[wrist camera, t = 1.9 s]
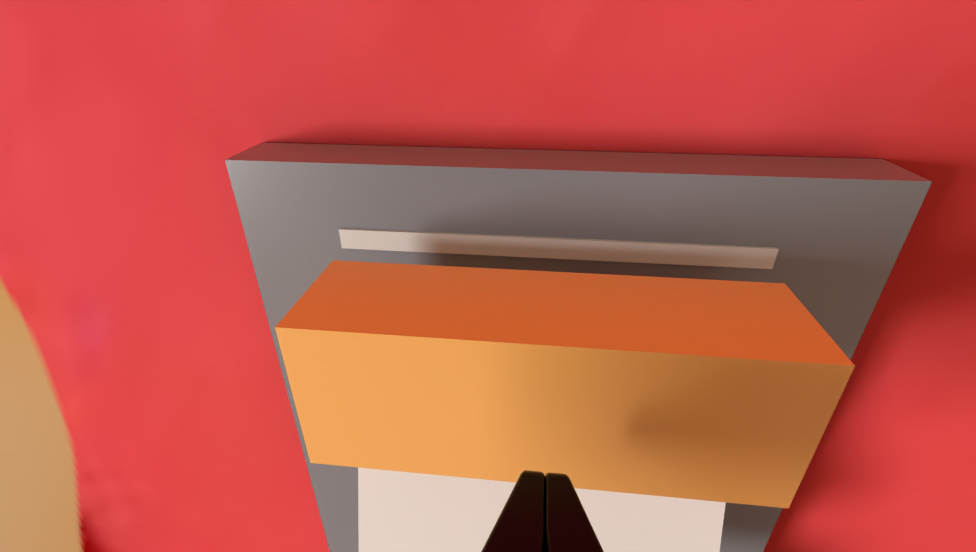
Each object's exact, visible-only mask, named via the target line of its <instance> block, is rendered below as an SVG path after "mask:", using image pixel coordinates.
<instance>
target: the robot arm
mask: <svg viewBox="0 0 976 552" xmlns="http://www.w3.org/2000/svg"><path fill="white" fill-rule="evenodd" d="M481 552H604V551H603V549H602V547H601V545H600V542H599V540H598V538H597V536H596V534H595V532H594V529H593V527H592V525H591V523H590V521H589V519H588V517H587V514H586V512H585V510H584V508H583V506H582V504H581V501H580V499H579V497H578V495H577V493H576V491H575V489H574V486H573V484H572V482H571V480H570V478H569V477H568V476H567V475H566V474H561V473H550V472H549V473H547V474H546V475H544V473H543V472H539V471H529V470H525V471H523V472H522V473H521V474H520V476H519V478H518V480H517V482H516V484H515V486H514V488H513V490H512V492H511V494H510V496H509V498H508V500H507V502H506V504H505V506H504V508H503V510H502V512H501V514H500V516H499V518H498V520H497V522H496V524H495V526H494V527H493V529H492V531H491V533H490V535H489V537H488V539H487V541H486V543H485V545H484V547H483V549H482V551H481Z"/></svg>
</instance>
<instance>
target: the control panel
mask: <svg viewBox="0 0 976 552" xmlns="http://www.w3.org/2000/svg"><path fill="white" fill-rule="evenodd" d="M225 162H226V166H227V169H228V173H229V177H230V181H231V184H232V188H233V192H234V195H235V199H236V203H237V207H238V210H239V214H240V218H241V222H242V225H243V229H244V233H245V236H246V240H247V244H248V248H249V251H250V255H251V259H252V263H253V266H254V270H255V274H256V277H257V281H258V285H259V289H260V292H261V296H262V300H263V304H264V307H265V311H266V315H267V318H268V322H269V326H270V330H271V333H272V337H273V341H274V345H275V348H276V352H277V356H278V359H279V363H280V367H281V371H282V374H283V378H284V382H285V386H286V389H287V393H288V397H289V400H290V404H291V408H292V412H293V415H294V419H295V423H296V427H297V430H298V434H299V438H300V441H301V445H302V449H303V453H304V456H305V460H306V464H307V468H308V471H309V475H310V479H311V482H312V486H313V490H314V494H315V497H316V501H317V505H318V509H319V512H320V516H321V520H322V523H323V527H324V531H325V535H326V538H327V542H328V546H329V550H330V552H359V533H358V467H348V466H337V465H327V464H316V463H310V459H309V456H308V452H307V448H306V444H305V440H304V436H303V433H302V429H301V425H300V421H299V417H298V414H297V410H296V406H295V402H294V398H293V394H292V391H291V387H290V383H289V379H288V375H287V372H286V368H285V364H284V360H283V356H282V353H281V349H280V345H279V341H278V337H277V333H276V330H275V327H276V325H277V324H278V323H279V322H280V321H281V320H282V319H283V317H284V316H285V315H286V314H287V313H288V312H289V310H290V309H291V308H292V307H293V306H294V305H295V303H296V302H297V301H298V300H299V299H300V298H301V297H302V295H303V294H304V293H305V292H306V291H307V290H308V288H309V287H310V286H311V285H312V284H313V283H314V281H315V280H316V279H317V278H318V277H319V276H320V274H321V273H322V272H323V271H324V270H325V269H326V268H327V266H328V265H329V264H330V263H331V262H332V261H333V260H338V261H357V262H377V263H397V264H416V265H436V266H455V267H475V268H494V269H514V270H533V271H553V272H572V273H592V274H611V275H631V276H650V277H670V278H689V279H709V280H728V281H748V282H767V283H785V284H786V285H787V287H788V288H789V289H790V290H791V291H792V292H793V294H794V295H795V296H796V297H797V298H798V299H799V301H800V302H801V303H802V304H803V305H804V306H805V308H806V309H807V310H808V311H809V312H810V314H811V315H812V316H813V317H814V318H815V319H816V321H817V322H818V323H819V324H820V325H821V326H822V328H823V329H824V330H825V331H826V332H827V334H828V335H829V336H830V337H831V338H832V339H833V341H834V342H835V343H836V344H837V345H838V346H839V348H840V349H841V350H842V351H843V352H844V354H845V355H846V356H847V357H848V358H849V359H850V360H851V358H852V356H853V354H854V352H855V349H856V347H857V345H858V343H859V341H860V338H861V336H862V334H863V332H864V330H865V327H866V325H867V323H868V321H869V319H870V317H871V314H872V312H873V310H874V308H875V306H876V303H877V301H878V299H879V297H880V295H881V292H882V290H883V288H884V286H885V284H886V282H887V279H888V277H889V275H890V273H891V271H892V268H893V266H894V264H895V262H896V260H897V257H898V255H899V253H900V251H901V249H902V247H903V244H904V242H905V240H906V238H907V236H908V233H909V231H910V229H911V227H912V225H913V222H914V220H915V218H916V216H917V214H918V212H919V209H920V207H921V205H922V203H923V201H924V198H925V196H926V194H927V192H928V190H929V187H930V185H931V183H932V181H930V180H928V179H926V178H923V177H921V176H919V175H917V174H915V173H912V172H910V171H908V170H906V169H904V168H901V167H899V166H897V165H895V164H893V163H890V162H888V161H886V160H884V159H870V158H832V157H794V156H756V155H719V154H681V153H643V152H605V151H568V150H530V149H492V148H455V147H417V146H379V145H341V144H304V143H266V142H262V143H260V144H258V145H256V146H254V147H252V148H249V149H247V150H245V151H243V152H241V153H239V154H237V155H234V156H232V157H230V158H228V159H226V160H225ZM782 509H783V508H779V507H769V506H758V505H748V504H737V503H727V502H726V504H725V512H724V520H723V528H722V536H721V544H720V552H763V551H764V548H765V546H766V544H767V542H768V540H769V537H770V535H771V533H772V531H773V529H774V527H775V524H776V522H777V520H778V518H779V516H780V513H781V511H782Z"/></svg>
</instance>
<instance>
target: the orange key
mask: <svg viewBox="0 0 976 552" xmlns="http://www.w3.org/2000/svg"><path fill="white" fill-rule="evenodd" d="M275 330H276V333H277V337H278V341H279V345H280V349H281V353H282V356H283V360H284V364H285V368H286V372H287V375H288V379H289V383H290V387H291V391H292V394H293V398H294V402H295V406H296V410H297V414H298V417H299V421H300V425H301V429H302V433H303V436H304V440H305V444H306V448H307V452H308V456H309V459H310V463H316V464H327V465H337V466H348V467H358V468H369V469H379V470H390V471H400V472H411V473H421V474H432V475H442V476H453V477H463V478H474V479H484V480H495V481H506V482H517V480H518V478H519V476H520V474H521V473H522V472H523V471H525V470H529V471H539V472H543V473H544V475H546V474H547V473H549V472H550V473H561V474H566V475H567V476H568V477H569V478H570V480H571V482H572V484H573V486H574V488H579V489H590V490H600V491H611V492H621V493H632V494H642V495H653V496H663V497H674V498H684V499H695V500H705V501H716V502H727V503H737V504H748V505H758V506H769V507H779V508H789V506H790V504H791V502H792V500H793V498H794V496H795V494H796V491H797V489H798V487H799V485H800V483H801V481H802V479H803V476H804V474H805V472H806V470H807V468H808V466H809V464H810V461H811V459H812V457H813V455H814V453H815V451H816V449H817V446H818V444H819V442H820V440H821V438H822V436H823V434H824V431H825V429H826V427H827V425H828V423H829V421H830V419H831V416H832V414H833V412H834V410H835V408H836V406H837V403H838V401H839V399H840V397H841V395H842V393H843V391H844V388H845V386H846V384H847V382H848V380H849V378H850V376H851V373H852V371H853V369H854V367H855V365H854V364H853V363H852V362H851V361H850V359H849V358H848V357H847V356H846V355H845V354H844V352H843V351H842V350H841V349H840V348H839V346H838V345H837V344H836V343H835V342H834V341H833V339H832V338H831V337H830V336H829V335H828V334H827V332H826V331H825V330H824V329H823V328H822V326H821V325H820V324H819V323H818V322H817V321H816V319H815V318H814V317H813V316H812V315H811V314H810V312H809V311H808V310H807V309H806V308H805V306H804V305H803V304H802V303H801V302H800V301H799V299H798V298H797V297H796V296H795V295H794V294H793V292H792V291H791V290H790V289H789V288H788V287H787V285H786V284H785V283H767V282H748V281H728V280H709V279H689V278H670V277H650V276H631V275H611V274H592V273H572V272H553V271H533V270H514V269H494V268H475V267H455V266H436V265H416V264H397V263H377V262H357V261H338V260H333V261H332V262H331V263H330V264H329V265H328V266H327V268H326V269H325V270H324V271H323V272H322V273H321V274H320V276H319V277H318V278H317V279H316V280H315V281H314V283H313V284H312V285H311V286H310V287H309V288H308V290H307V291H306V292H305V293H304V294H303V295H302V297H301V298H300V299H299V300H298V301H297V302H296V303H295V305H294V306H293V307H292V308H291V309H290V310H289V312H288V313H287V314H286V315H285V316H284V317H283V319H282V320H281V321H280V322H279V323H278V324H277V325H276V327H275Z"/></svg>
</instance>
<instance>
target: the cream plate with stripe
mask: <svg viewBox="0 0 976 552" xmlns="http://www.w3.org/2000/svg"><path fill="white" fill-rule="evenodd" d="M515 484H516V482H506V481H495V480H484V479H474V478H463V477H453V476H442V475H432V474H421V473H411V472H400V471H390V470H379V469H369V468H358V533H359V552H481V551H482V549H483V547H484V545H485V543H486V541H487V539H488V537H489V535H490V533H491V531H492V529H493V527H494V526H495V524H496V522H497V520H498V518H499V516H500V514H501V512H502V510H503V508H504V506H505V504H506V502H507V500H508V498H509V496H510V494H511V492H512V490H513V488H514V486H515ZM574 489H575V491H576V493H577V495H578V497H579V499H580V501H581V504H582V506H583V508H584V510H585V512H586V514H587V517H588V519H589V521H590V523H591V525H592V527H593V529H594V532H595V534H596V536H597V538H598V540H599V542H600V545H601V547H602V549H603V551H604V552H720V544H721V536H722V528H723V520H724V512H725V504H726V502H716V501H705V500H695V499H684V498H674V497H663V496H653V495H642V494H632V493H621V492H611V491H600V490H590V489H579V488H574Z"/></svg>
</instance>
